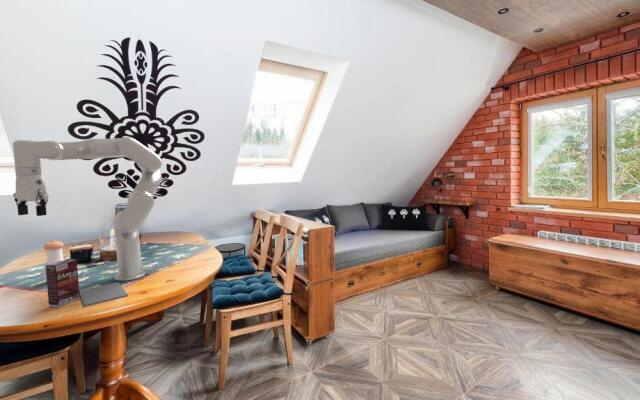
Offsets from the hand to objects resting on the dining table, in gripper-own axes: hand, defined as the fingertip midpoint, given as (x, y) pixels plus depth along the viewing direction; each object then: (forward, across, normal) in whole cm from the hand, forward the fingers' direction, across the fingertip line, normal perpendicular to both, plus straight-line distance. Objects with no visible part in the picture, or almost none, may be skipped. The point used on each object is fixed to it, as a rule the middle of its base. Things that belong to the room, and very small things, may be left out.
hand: (32, 215), depth 124 cm
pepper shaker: (+33, +10, -14) cm, 37 cm away
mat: (+33, -25, -6) cm, 42 cm away
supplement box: (+33, -18, +4) cm, 38 cm away
